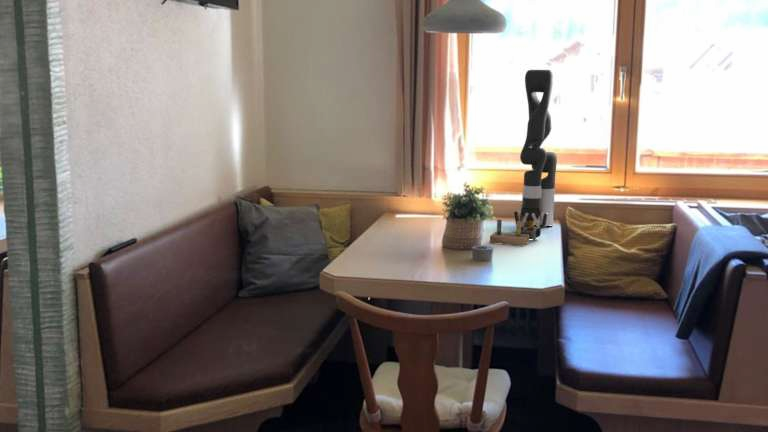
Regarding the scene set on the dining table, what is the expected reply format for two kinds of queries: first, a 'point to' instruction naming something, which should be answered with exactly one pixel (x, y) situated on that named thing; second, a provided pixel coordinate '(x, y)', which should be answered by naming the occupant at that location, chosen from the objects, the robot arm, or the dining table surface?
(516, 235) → the keeper
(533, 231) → the link
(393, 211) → the dining table surface
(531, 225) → the condiment
